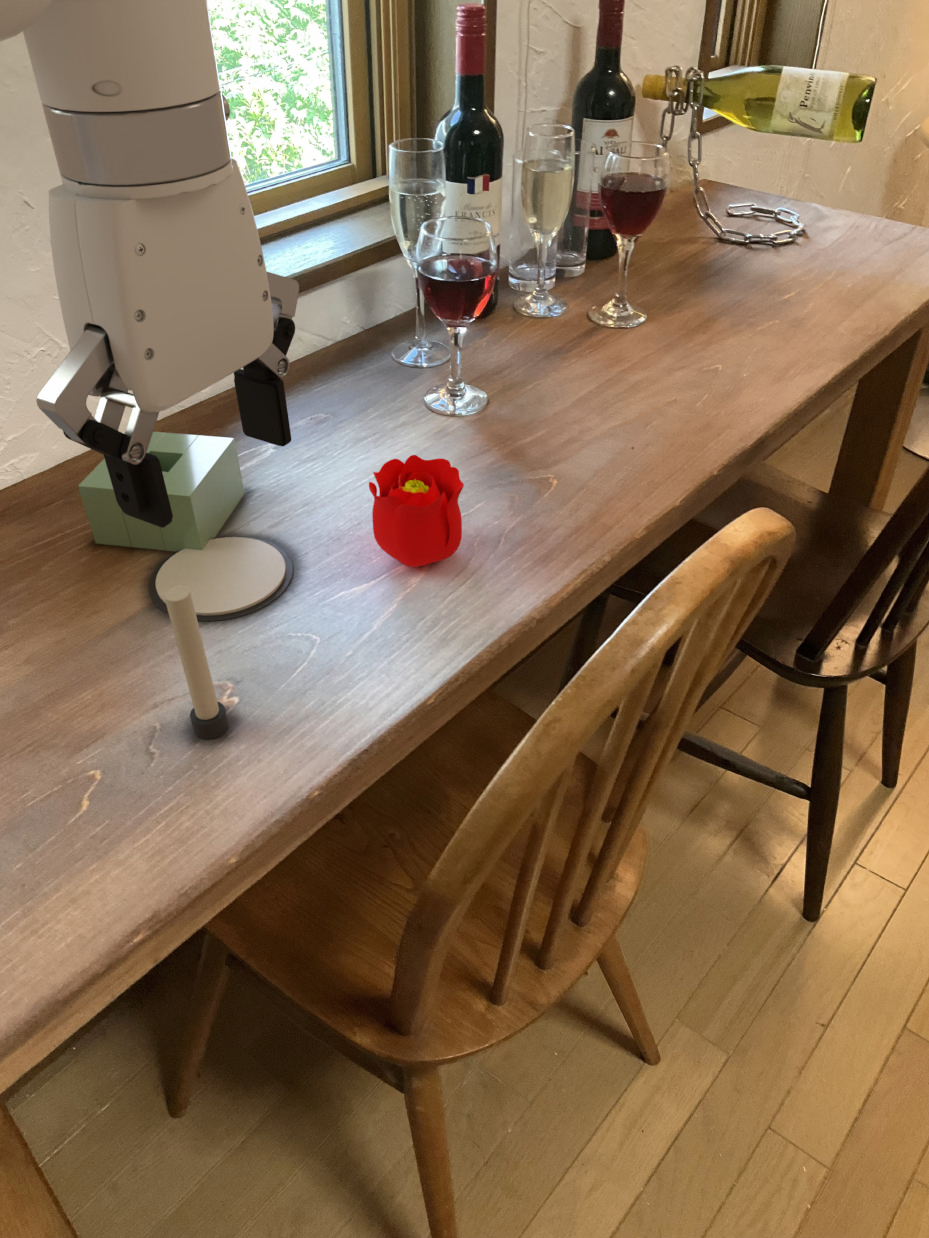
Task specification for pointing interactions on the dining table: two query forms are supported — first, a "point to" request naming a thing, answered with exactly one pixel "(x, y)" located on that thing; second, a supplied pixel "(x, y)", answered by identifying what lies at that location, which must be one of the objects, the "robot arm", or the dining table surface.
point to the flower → (417, 510)
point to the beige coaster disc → (225, 577)
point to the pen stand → (172, 495)
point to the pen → (195, 666)
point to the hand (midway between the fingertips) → (211, 476)
